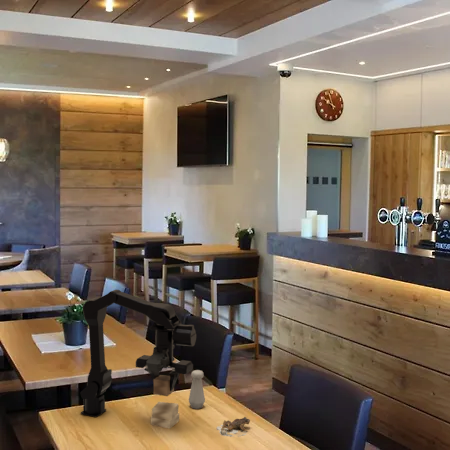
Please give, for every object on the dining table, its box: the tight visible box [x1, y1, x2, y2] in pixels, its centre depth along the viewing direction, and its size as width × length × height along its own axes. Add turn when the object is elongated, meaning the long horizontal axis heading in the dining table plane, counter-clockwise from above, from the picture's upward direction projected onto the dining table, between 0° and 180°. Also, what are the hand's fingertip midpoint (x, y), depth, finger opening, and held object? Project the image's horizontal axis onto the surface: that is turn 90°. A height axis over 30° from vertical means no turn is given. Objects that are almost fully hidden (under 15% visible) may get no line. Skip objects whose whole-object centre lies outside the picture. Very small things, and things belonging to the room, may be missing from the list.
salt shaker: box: [188, 369, 206, 410], centre depth 217 cm, size 6×6×13 cm
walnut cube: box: [153, 374, 175, 397], centre depth 202 cm, size 5×5×5 cm
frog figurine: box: [216, 416, 251, 437], centre depth 200 cm, size 12×12×4 cm
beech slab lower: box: [150, 412, 180, 429], centre depth 203 cm, size 7×7×3 cm
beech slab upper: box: [151, 401, 179, 420], centre depth 203 cm, size 7×7×3 cm
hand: (163, 389), depth 202 cm, fingers closed on walnut cube, 5 cm apart
